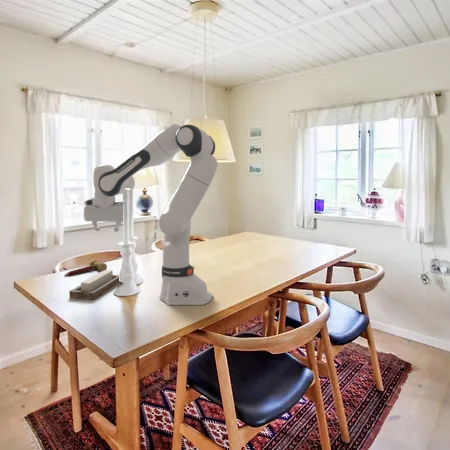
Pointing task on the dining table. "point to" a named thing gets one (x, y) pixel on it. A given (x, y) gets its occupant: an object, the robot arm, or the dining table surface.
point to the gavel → (89, 268)
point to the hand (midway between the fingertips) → (107, 231)
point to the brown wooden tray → (96, 293)
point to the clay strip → (97, 281)
